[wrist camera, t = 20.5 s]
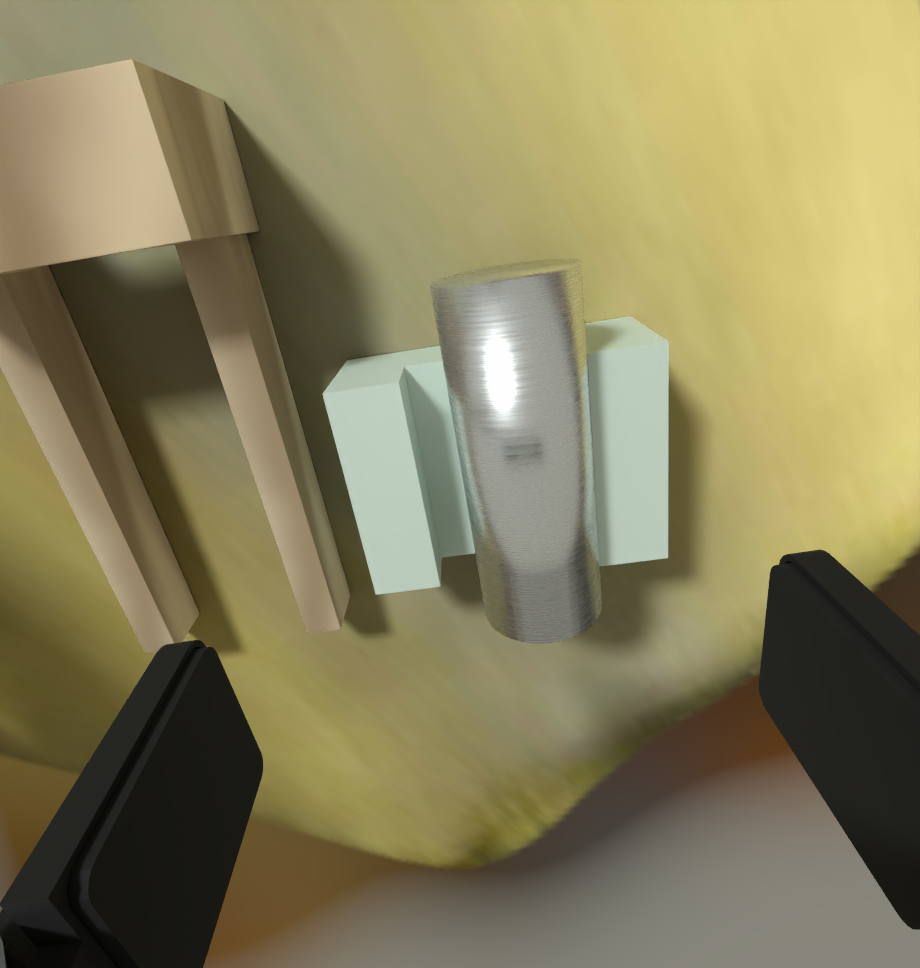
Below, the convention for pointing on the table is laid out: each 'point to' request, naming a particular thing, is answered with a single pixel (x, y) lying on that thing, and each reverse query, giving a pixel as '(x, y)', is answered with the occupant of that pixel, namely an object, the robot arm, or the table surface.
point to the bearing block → (217, 295)
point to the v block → (436, 467)
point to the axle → (524, 441)
